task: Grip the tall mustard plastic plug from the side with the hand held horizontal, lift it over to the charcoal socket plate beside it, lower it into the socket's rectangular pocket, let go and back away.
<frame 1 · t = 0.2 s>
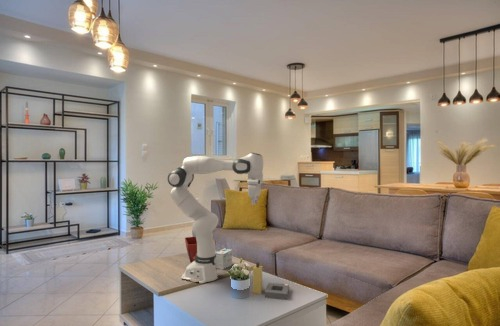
hand: (254, 203, 188), 47 cm above the table, tool pointing down, fingers open, 8 cm apart
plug: (257, 291, 177), on the table
light bulb box: (223, 266, 215), on the table
plant pot: (200, 263, 221), on the table
socket: (277, 293, 175), on the table
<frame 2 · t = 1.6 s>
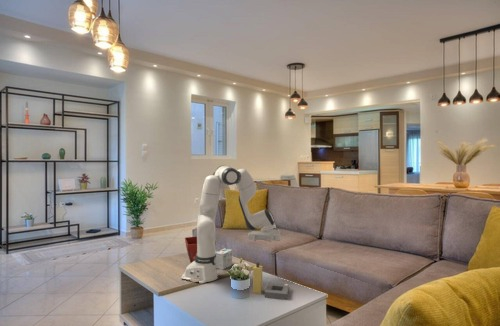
hand: (262, 239, 188), 26 cm above the table, tool horizontal, fingers open, 8 cm apart
nothing on the table moved.
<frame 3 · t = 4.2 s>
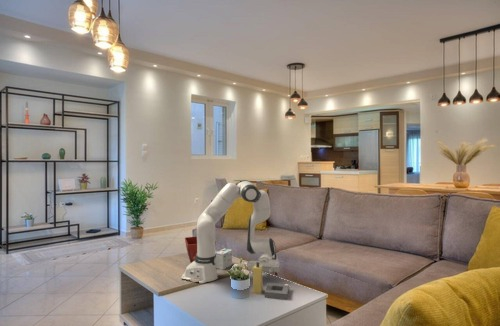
hand: (260, 271, 186), 8 cm above the table, tool horizontal, fingers open, 8 cm apart
nothing on the table moved.
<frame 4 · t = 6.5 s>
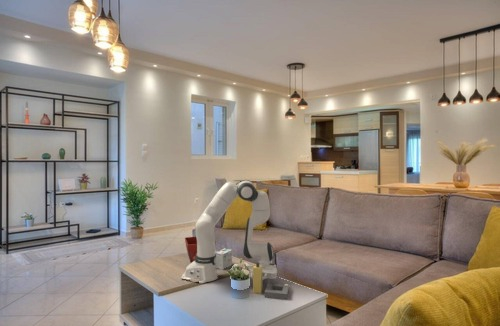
hand: (257, 278, 176), 8 cm above the table, tool horizontal, fingers closed on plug, 4 cm apart
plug: (257, 291, 177), on the table, touching gripper
everything else where it was.
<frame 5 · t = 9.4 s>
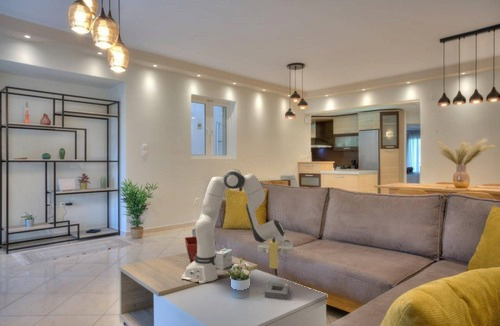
hand: (273, 253, 173), 23 cm above the table, tool horizontal, fingers closed on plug, 4 cm apart
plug: (274, 267, 175), point 15 cm above the table, touching gripper
everything else where it was.
when the fingers open (9 cm above the table, at t = 12.4 s): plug stays where it is, resting on socket.
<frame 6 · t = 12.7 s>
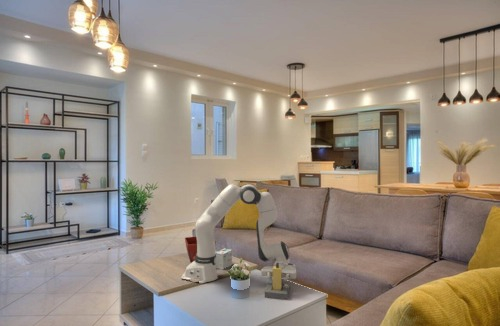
hand: (277, 278, 173), 9 cm above the table, tool horizontal, fingers open, 7 cm apart
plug: (277, 292, 175), point 1 cm above the table, touching socket
everything else where it was.
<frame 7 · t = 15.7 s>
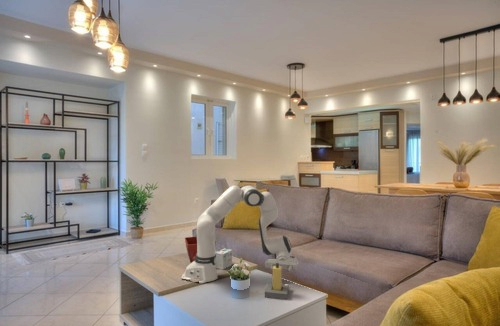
hand: (280, 269, 186), 9 cm above the table, tool horizontal, fingers open, 8 cm apart
nothing on the table moved.
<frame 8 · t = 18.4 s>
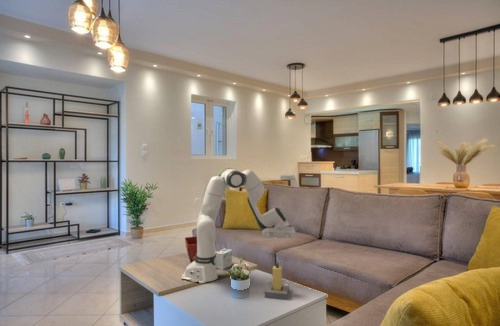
hand: (277, 236, 187), 28 cm above the table, tool horizontal, fingers open, 8 cm apart
nothing on the table moved.
at the end: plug 0.1 cm off-centre on the socket, point 0.5 cm above the socket's base; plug tilted 0°; the gripper is holding nothing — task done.
